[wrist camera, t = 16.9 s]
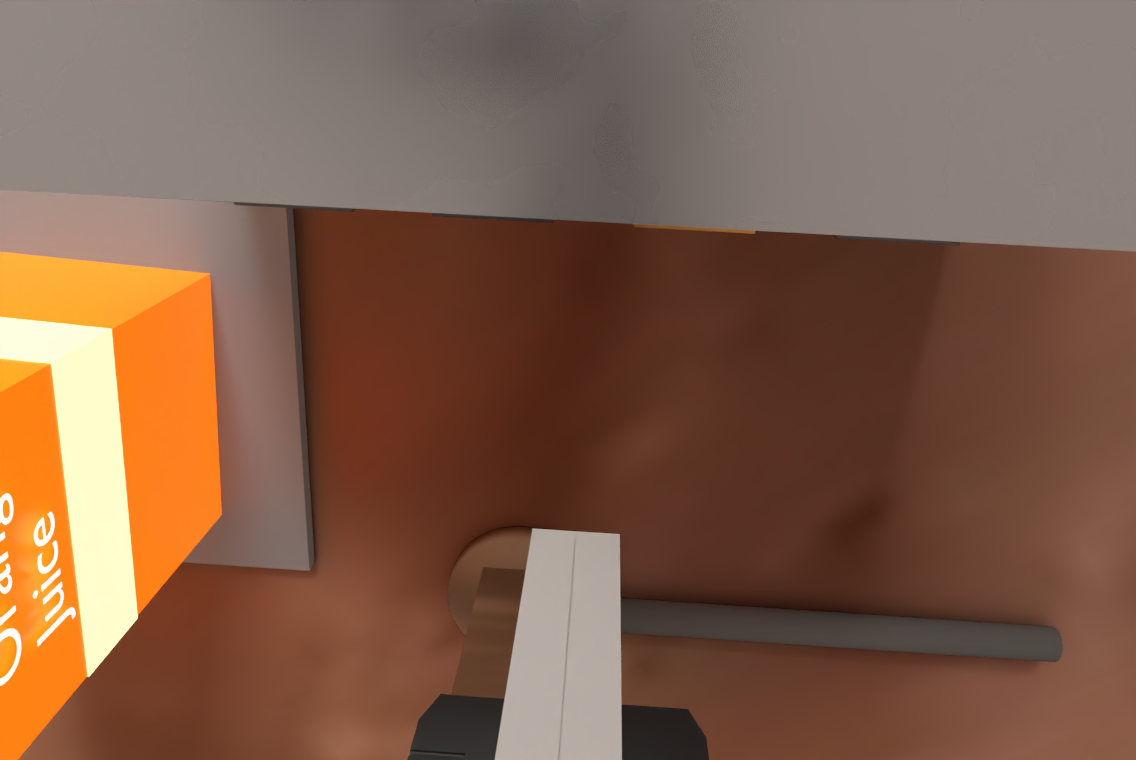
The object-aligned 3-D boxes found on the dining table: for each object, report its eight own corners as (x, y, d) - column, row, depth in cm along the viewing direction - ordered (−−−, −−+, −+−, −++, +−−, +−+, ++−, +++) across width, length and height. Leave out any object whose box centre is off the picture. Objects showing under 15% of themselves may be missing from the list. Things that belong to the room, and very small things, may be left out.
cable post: (451, 522, 32) (307, 949, 17) (592, 531, 32) (574, 970, 17) (451, 639, 33) (320, 1121, 18) (584, 648, 33) (562, 1141, 18)
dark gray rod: (602, 590, 32) (602, 609, 31) (1049, 619, 32) (1065, 640, 31) (600, 618, 33) (599, 638, 32) (1041, 647, 32) (1057, 669, 31)
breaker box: (220, -107, 25) (-211, -275, 12) (1016, -70, 24) (1487, -205, 11) (240, 144, 27) (-101, 233, 14) (965, 182, 27) (1305, 313, 14)
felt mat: (-115, 179, 28) (-129, 182, 28) (292, 202, 28) (285, 205, 27) (-36, 538, 33) (-47, 547, 32) (314, 561, 32) (309, 570, 32)
